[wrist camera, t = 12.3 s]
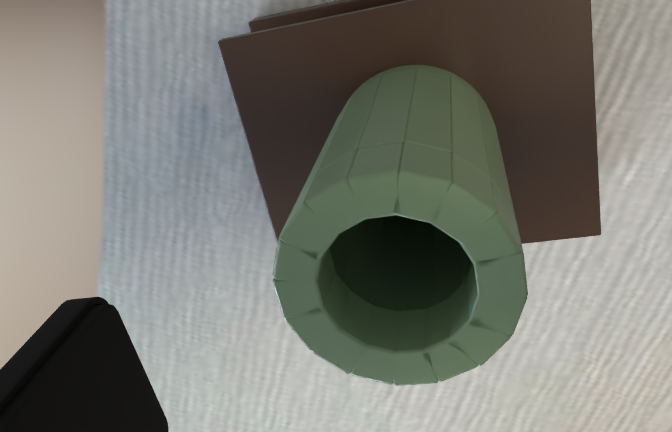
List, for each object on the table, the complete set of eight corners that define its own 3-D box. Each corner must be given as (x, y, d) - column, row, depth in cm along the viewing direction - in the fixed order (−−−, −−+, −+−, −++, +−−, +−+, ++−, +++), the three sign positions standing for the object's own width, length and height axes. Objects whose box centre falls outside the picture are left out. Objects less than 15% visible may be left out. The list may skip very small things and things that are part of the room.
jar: (320, 80, 18) (244, 192, 11) (485, 49, 17) (513, 153, 10) (353, 222, 20) (305, 392, 13) (503, 203, 19) (536, 378, 12)
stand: (253, 18, 22) (217, 41, 18) (563, -48, 20) (589, -36, 16) (307, 218, 25) (284, 270, 22) (577, 183, 23) (601, 235, 19)
